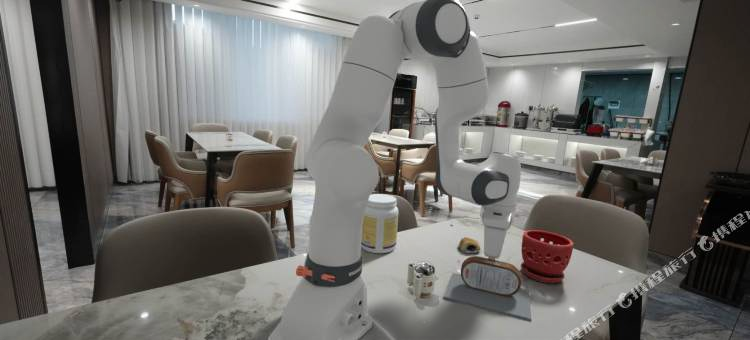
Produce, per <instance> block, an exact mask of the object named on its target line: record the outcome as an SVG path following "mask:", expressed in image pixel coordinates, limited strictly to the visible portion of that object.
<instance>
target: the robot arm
mask: <svg viewBox="0 0 750 340" xmlns="http://www.w3.org/2000/svg"><path fill="white" fill-rule="evenodd" d="M470 26H471V25H470V21H469V16H468V14H467V11H466V10H465V7H464V6H463V5H462V3H461V2H460V1H459V0H422V1H417V2H413V3H411V4H409V5H407V6H405V7H404V8H402V9H399V10H397V11H395V12H394V13H392V14H391V15H390V16H388V17H387V16H384V15H378V14H377V15H376V14H375V15H370V16H367V17H365V18H364V19H362V21H360V23H359V25H358V27H357V29H356V30H355V32H354V33H353V35H352V37H351V40H350V43H349V44H348V47H347V48H346V52H345V54H344V56H343V60H342V64H341V66H340V68H339V69H340V70H339V72H338V75H337V78H336V82H335V85H334V88H333V91H332V94H331V97H330V100H329V102H328V105H327V107H326V110H325V112H324V114H323V116H322V118H321V119H320V121H319V125H318V126H317V129H316V131H315V133H314V137H313V138H312V141H311V143H310V146H309V148H308V150H307V152H306V156H305V163H306V164H305V165H306V166H305V167H306V169H307V172H308V174H309V175H310V176H311V178H312V179H313V180H314V181H313V182H314V185H315V192H314V199H313V200H314V201H313V206H312V211H311V216H310V217H309V221H308V223H309V224H308V227H309V229H308V253H307V254H306V258H305V261H304V265H298V266H297V267H296V269H295V275H296V276H298V277H301V279H300V281H299V282H298V284H297V285H296V287H295V289H294V290H293V292H292V294H291V296H290V298H289V300H288V302H287V303H286V305H285V307H284V308H283V310H282V315H281V320H280V321H279V323H278V324H277V325H276V326H275V328H274V329H273V330H272V332H271V333H270V335H269V336H268V338H267V340H360V338H362V336H364V335H365V334H366V333H367V332H369V330H370V329H372V328H373V319H372V318H371V316H369V315H368V289H367V285H366V284H365V282H364V279H363V277H362V275H361V274H362V272H363V265H364V261H363V254H362V253H361V252H362V247H361V241H362V225H363V219H364V214H365V210H366V207H367V203H368V199H369V196H370V195H371V194H373V193H374V192H375V189H376V188H377V186H378V183H379V175H380V174H379V173H380V172H379V167H378V164H377V163H376V161H375V160H374V157H372V155H371V154H370V153H369V151H368V150H367V149H365V146H366V144H367V142H368V140H369V139H370V137H371V135H372V134H373V132H374V130H375V129H376V128H377V126H379V125H380V124H381V123H382V120H383V118H384V116H385V112H386V110H387V106H388V103H389V101H390V97H391V94H392V92H393V88H394V85H395V82H396V79H397V76H398V72H399V69H400V67H401V65H402V63H403V62H404V61H409V60H419V61H422V60H429V61H430V63H431V64H432V66H433V68H434V72H435V76H436V77H435V79H436V85H437V86H436V87H437V92H438V107H437V109H436V111H435V115H434V133H435V134H434V135H435V136H434V137H435V149H436V169H435V176H434V177H435V178H434V180H435V186H436V188H437V190H438V191H439V192H440V193H441V194H442V195H444V196H447V197H453V198H456V199H459V200H462V201H465V202H466V203H467V202H468V203H471V204H474V205H477V206H480V215H479V216H480V218H481V221H482V223H481V224H482V226H483V227H484V228H483V233H484V234H483V235H484V236H483V251H484V252H483V253H484V256H485V257H486V258H488V259H492V260H496V259H499V258H500V257H501V254H502V250H503V247H504V243H505V238H506V236H507V232H508V230H510V228H511V225H512V224H513V223H515V221H516V220H515V219H516V214H517V206H518V201H517V194H518V192H519V189H520V184H521V175H522V173H521V172H522V167H521V160H520V158H519V157H518V156H516V155H513V154H509V153H505V152H500V151H492V152H490V154H489V156H488V158H487V159H486V160H484V161H483V162H480V163H477V164H472V163H469V162H465V160H463V159H462V157H461V155H460V135H459V131H460V128H461V126H462V124H463V123H464V122H467V121H470V120H472V119H474V118H476V116H478V115H479V114H481V112H482V111H483V110H484V109H485V107H486V106H487V103H488V102H489V101H488V100H489V93H490V91H489V81H488V74H487V67H486V63H485V58H484V54H483V50H482V47H481V44H480V42H479V38H478V36H477V34H475V33H474V32H473V31H472V30H471V27H470Z"/></svg>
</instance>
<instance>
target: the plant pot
mask: <svg viewBox="0 0 750 340" xmlns="http://www.w3.org/2000/svg"><path fill="white" fill-rule="evenodd" d="M542 239H543V240H542ZM574 245H575V244H574V242H573V241H572V240H571V239H570V238H567V237H566V236H563V235H561V234H557V233H555V232H551V231H550V232H549V231H546V230H538V229H537V230H536V229H534V230H533V229H531V230H530V229H528V230H524V232H523V234H522V238H521V258H522V260H523V262H522V263H521V264H520V268H521V270H522V272H523V273H524V274H525V275H527V276H528V277H529V278H531V279H533V280H536V281H538V282H542V283H543V282H544V283H553V284H555V283H559V282H561V281H563V280H564V278H565V276H566V274H565V273H564V271H565V270H566V269H567V267H568V265H569V263H570V261H571V258H572V255H573V251H574Z"/></svg>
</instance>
